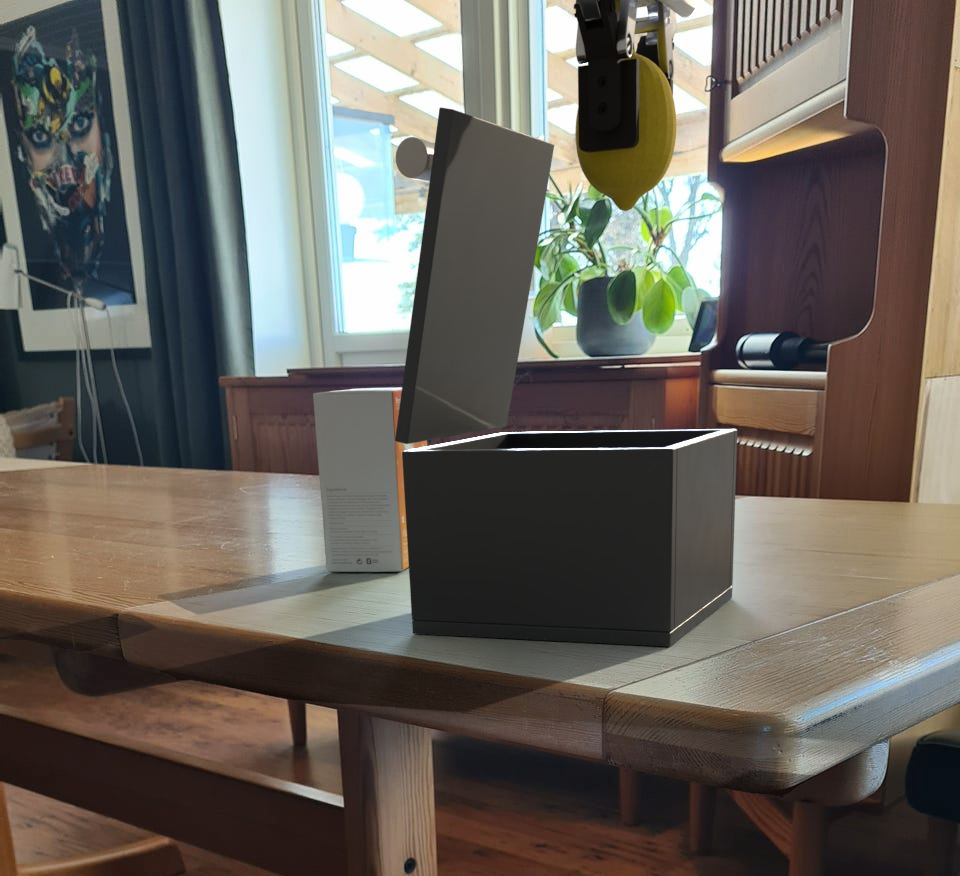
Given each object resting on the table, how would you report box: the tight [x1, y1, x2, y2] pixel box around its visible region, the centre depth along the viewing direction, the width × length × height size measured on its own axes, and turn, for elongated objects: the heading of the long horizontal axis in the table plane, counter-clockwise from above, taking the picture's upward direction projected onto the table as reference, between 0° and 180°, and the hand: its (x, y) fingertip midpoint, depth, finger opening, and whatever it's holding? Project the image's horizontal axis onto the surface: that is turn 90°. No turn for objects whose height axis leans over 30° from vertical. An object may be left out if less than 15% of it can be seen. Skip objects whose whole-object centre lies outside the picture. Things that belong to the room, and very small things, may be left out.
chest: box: [402, 428, 738, 648], centre depth 77 cm, size 16×15×10 cm
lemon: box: [574, 48, 677, 212], centre depth 71 cm, size 6×6×8 cm
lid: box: [395, 107, 555, 444], centre depth 75 cm, size 16×15×5 cm
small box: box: [312, 386, 428, 573], centre depth 98 cm, size 8×6×13 cm
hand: (627, 152), depth 71 cm, fingers closed on lemon, 5 cm apart
